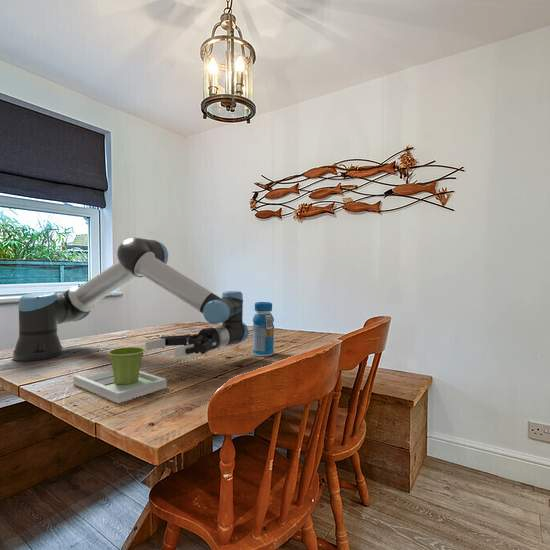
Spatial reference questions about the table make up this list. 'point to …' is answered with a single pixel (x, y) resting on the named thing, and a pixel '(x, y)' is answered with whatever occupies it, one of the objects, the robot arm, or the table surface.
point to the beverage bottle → (263, 329)
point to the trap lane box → (120, 386)
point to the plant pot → (126, 364)
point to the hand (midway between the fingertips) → (160, 349)
